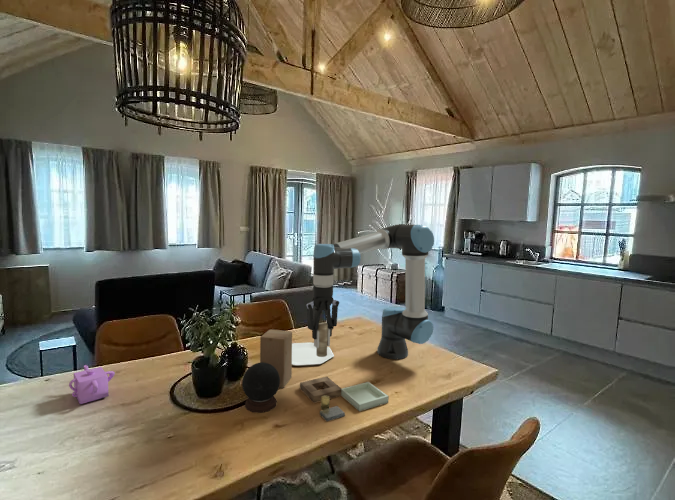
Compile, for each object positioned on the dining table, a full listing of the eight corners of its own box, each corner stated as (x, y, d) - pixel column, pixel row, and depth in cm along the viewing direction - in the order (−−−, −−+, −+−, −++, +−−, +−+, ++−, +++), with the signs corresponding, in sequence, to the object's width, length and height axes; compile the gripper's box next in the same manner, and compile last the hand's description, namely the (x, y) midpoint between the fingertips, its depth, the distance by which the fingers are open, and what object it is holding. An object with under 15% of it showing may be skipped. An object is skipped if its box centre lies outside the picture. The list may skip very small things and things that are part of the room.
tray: (368, 387, 143) (368, 381, 143) (388, 402, 132) (388, 396, 132) (340, 395, 137) (340, 388, 136) (359, 411, 126) (359, 404, 125)
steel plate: (337, 409, 127) (337, 405, 127) (344, 416, 123) (344, 412, 122) (319, 414, 123) (319, 410, 123) (326, 421, 119) (326, 418, 119)
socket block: (326, 382, 147) (326, 376, 147) (342, 395, 137) (342, 389, 136) (299, 388, 141) (300, 382, 140) (313, 403, 130) (313, 396, 130)
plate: (343, 353, 179) (343, 350, 179) (309, 373, 156) (310, 369, 156) (299, 341, 193) (299, 339, 193) (263, 358, 170) (263, 355, 170)
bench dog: (326, 405, 129) (327, 394, 129) (330, 409, 127) (331, 398, 126) (319, 407, 128) (319, 396, 127) (323, 411, 125) (323, 400, 125)
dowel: (323, 352, 140) (324, 322, 139) (328, 355, 137) (329, 325, 135) (314, 354, 138) (315, 323, 137) (319, 357, 135) (320, 326, 133)
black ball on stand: (239, 398, 132) (239, 359, 131) (274, 392, 137) (275, 354, 136) (245, 417, 120) (245, 374, 119) (283, 410, 125) (284, 368, 124)
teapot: (65, 392, 133) (63, 366, 132) (108, 381, 143) (107, 356, 142) (74, 412, 120) (72, 383, 119) (121, 398, 130) (120, 371, 129)
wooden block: (283, 388, 140) (284, 339, 138) (259, 385, 142) (259, 336, 140) (291, 377, 150) (292, 331, 148) (269, 374, 152) (269, 328, 150)
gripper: (337, 281, 142) (336, 339, 144) (298, 285, 133) (297, 346, 136) (347, 285, 136) (346, 345, 138) (306, 289, 127) (305, 353, 129)
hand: (321, 345), depth 137 cm, fingers closed on dowel, 4 cm apart
